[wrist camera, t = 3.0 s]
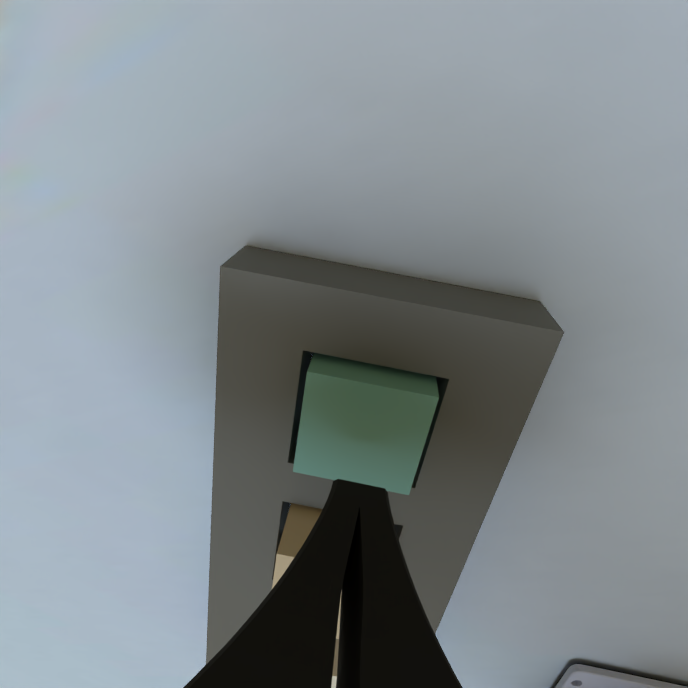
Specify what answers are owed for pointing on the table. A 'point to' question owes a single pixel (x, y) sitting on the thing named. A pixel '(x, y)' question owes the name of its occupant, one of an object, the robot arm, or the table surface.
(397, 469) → the key teal
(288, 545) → the block
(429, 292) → the keypad
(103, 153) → the table surface
